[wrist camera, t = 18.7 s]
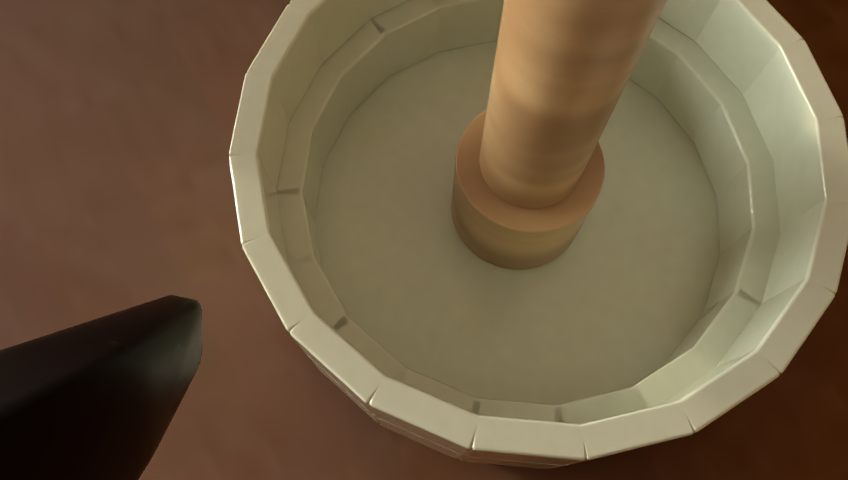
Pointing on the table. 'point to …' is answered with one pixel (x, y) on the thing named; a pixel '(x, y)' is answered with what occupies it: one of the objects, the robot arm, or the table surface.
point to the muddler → (545, 126)
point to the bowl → (583, 260)
